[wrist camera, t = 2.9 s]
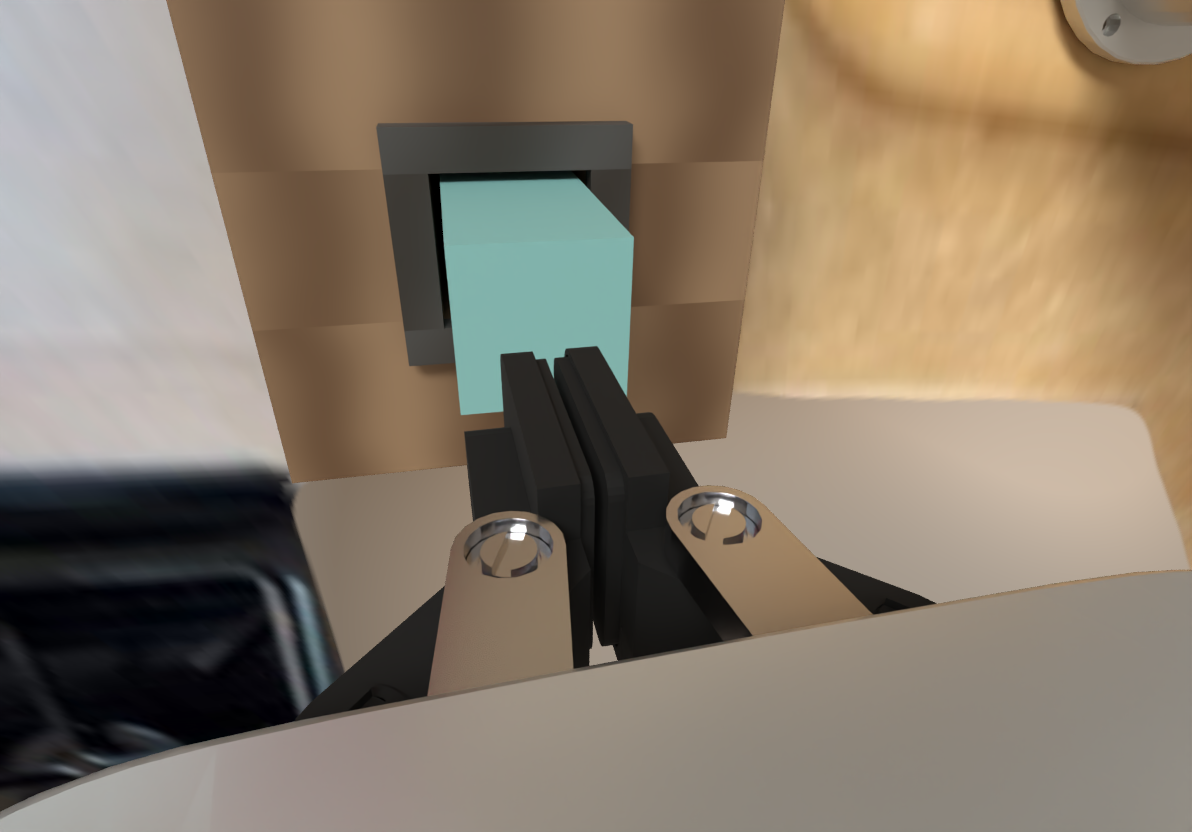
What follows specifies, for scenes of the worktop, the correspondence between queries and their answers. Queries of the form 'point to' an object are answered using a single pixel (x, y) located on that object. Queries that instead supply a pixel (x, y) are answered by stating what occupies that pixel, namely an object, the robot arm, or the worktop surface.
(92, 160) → the worktop surface
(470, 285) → the peg
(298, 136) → the socket block
